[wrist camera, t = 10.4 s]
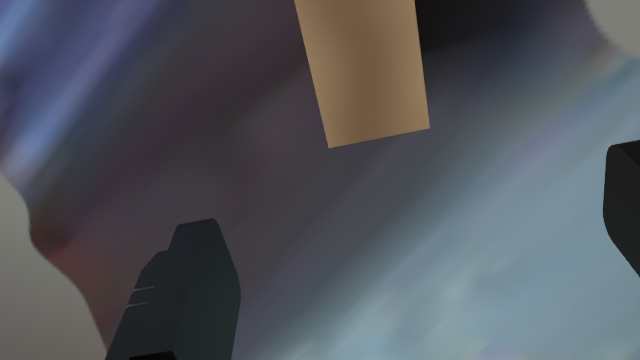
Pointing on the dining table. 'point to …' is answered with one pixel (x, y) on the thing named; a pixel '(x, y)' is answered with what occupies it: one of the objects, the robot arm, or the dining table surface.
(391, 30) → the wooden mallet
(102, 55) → the dining table surface
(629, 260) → the robot arm
